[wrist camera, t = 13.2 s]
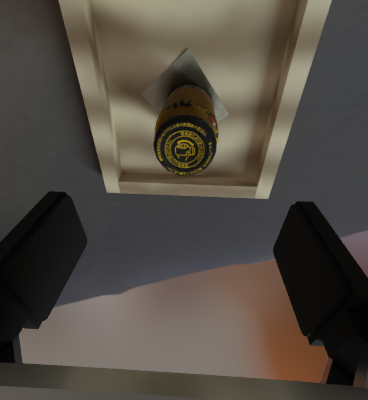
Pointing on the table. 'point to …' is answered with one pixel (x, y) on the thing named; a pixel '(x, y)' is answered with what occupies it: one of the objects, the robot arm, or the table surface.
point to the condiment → (185, 117)
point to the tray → (215, 73)
